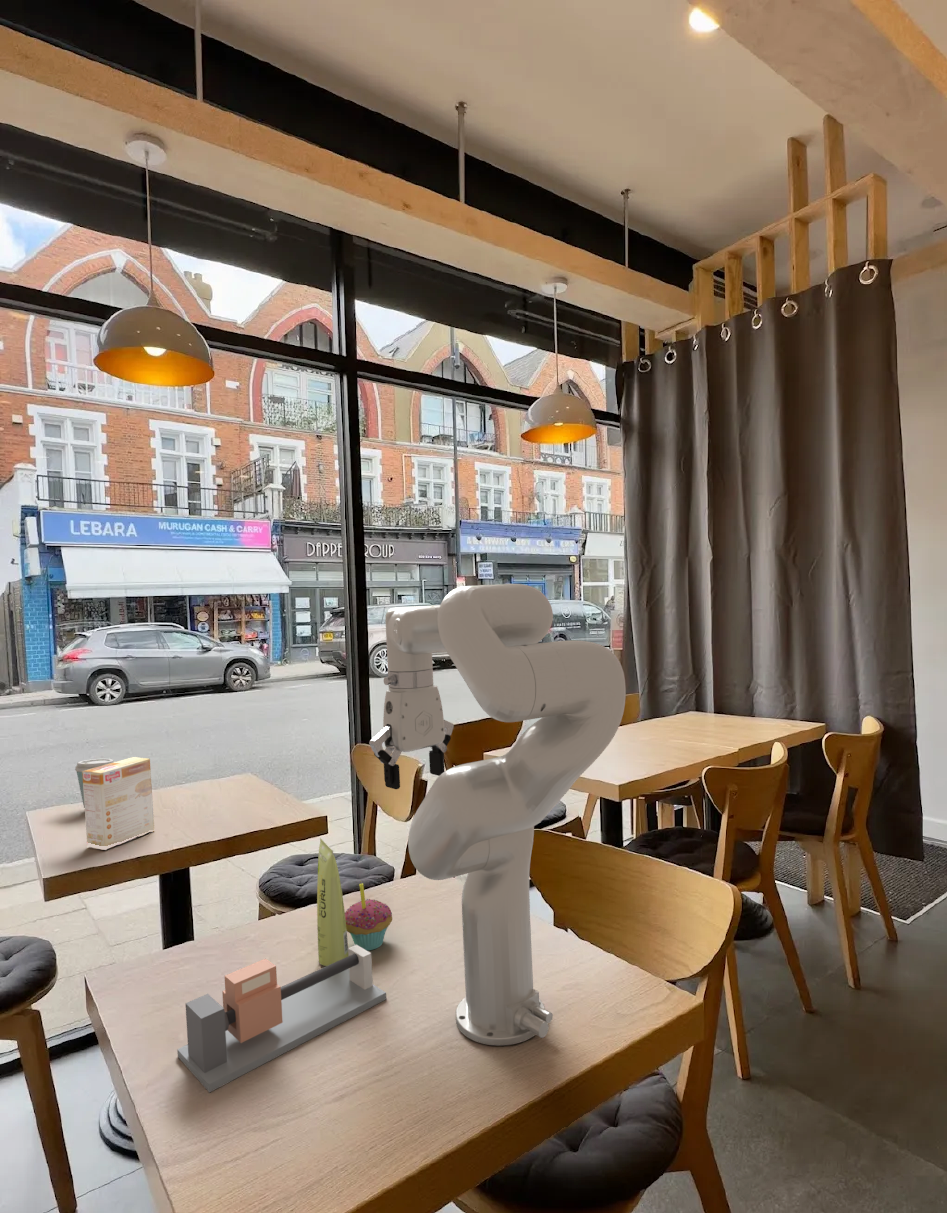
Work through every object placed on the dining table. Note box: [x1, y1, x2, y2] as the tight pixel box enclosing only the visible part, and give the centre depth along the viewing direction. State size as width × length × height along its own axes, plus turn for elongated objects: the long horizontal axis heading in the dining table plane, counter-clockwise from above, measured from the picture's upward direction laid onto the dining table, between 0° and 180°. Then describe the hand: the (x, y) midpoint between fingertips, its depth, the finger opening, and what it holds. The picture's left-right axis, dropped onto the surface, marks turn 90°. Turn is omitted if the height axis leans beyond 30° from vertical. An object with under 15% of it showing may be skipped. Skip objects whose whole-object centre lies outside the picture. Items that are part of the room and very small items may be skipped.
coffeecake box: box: [82, 756, 155, 846], centre depth 185 cm, size 15×7×20 cm, turn 154°
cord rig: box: [176, 944, 387, 1093], centre depth 102 cm, size 27×10×8 cm, turn 133°
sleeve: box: [222, 958, 283, 1043], centre depth 98 cm, size 6×5×8 cm
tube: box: [316, 837, 349, 967], centre depth 120 cm, size 6×5×20 cm
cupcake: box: [345, 879, 393, 952], centre depth 125 cm, size 9×8×12 cm
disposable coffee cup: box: [74, 758, 116, 809], centre depth 211 cm, size 11×11×15 cm
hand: (415, 781), depth 122 cm, fingers open, 9 cm apart
